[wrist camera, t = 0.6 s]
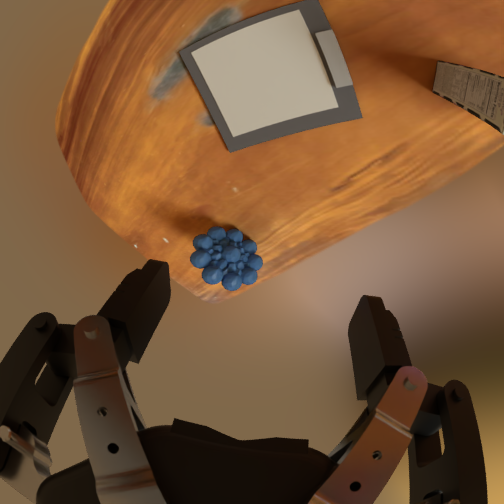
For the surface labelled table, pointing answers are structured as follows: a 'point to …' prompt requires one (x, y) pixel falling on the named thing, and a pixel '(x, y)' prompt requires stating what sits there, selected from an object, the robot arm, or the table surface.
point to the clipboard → (273, 75)
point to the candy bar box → (472, 91)
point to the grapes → (226, 258)
